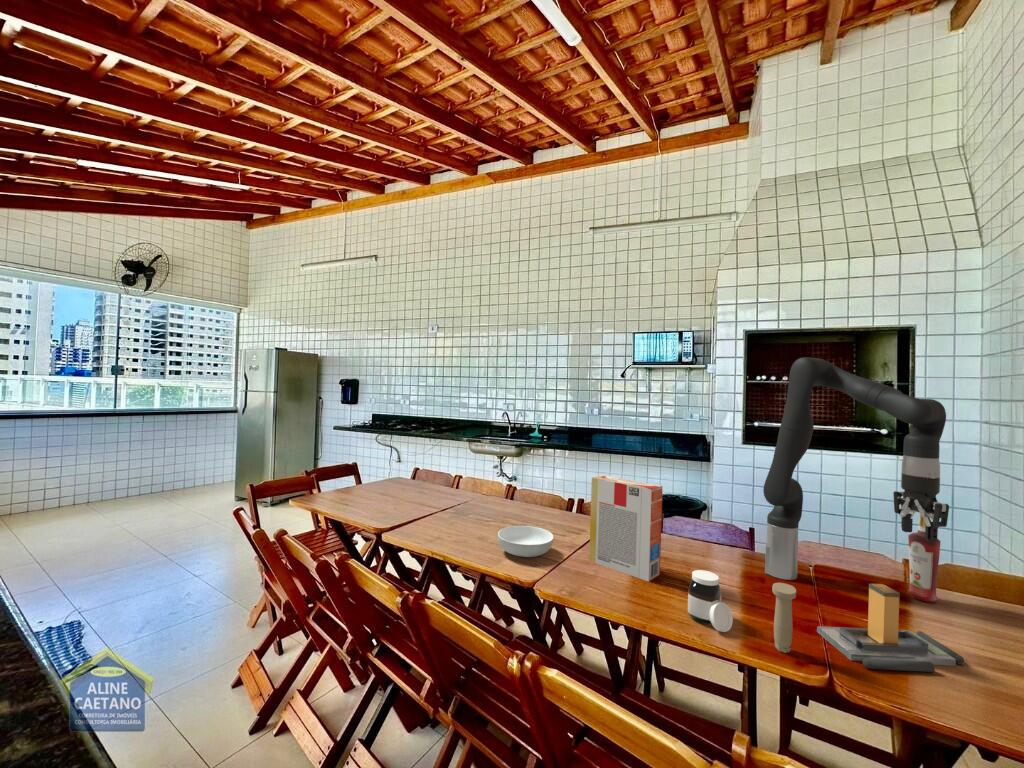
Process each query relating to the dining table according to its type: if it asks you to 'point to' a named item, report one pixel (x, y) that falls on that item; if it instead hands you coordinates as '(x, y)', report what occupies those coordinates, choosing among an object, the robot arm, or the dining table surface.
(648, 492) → the cereal box
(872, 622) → the tan wooden block
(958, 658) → the dark grey rounded bar
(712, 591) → the spread jar
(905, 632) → the panel
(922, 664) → the grey rounded rod
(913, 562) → the liquor
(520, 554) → the serving bowl
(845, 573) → the dining table surface
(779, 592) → the handle
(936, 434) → the robot arm
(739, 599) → the dining table surface
